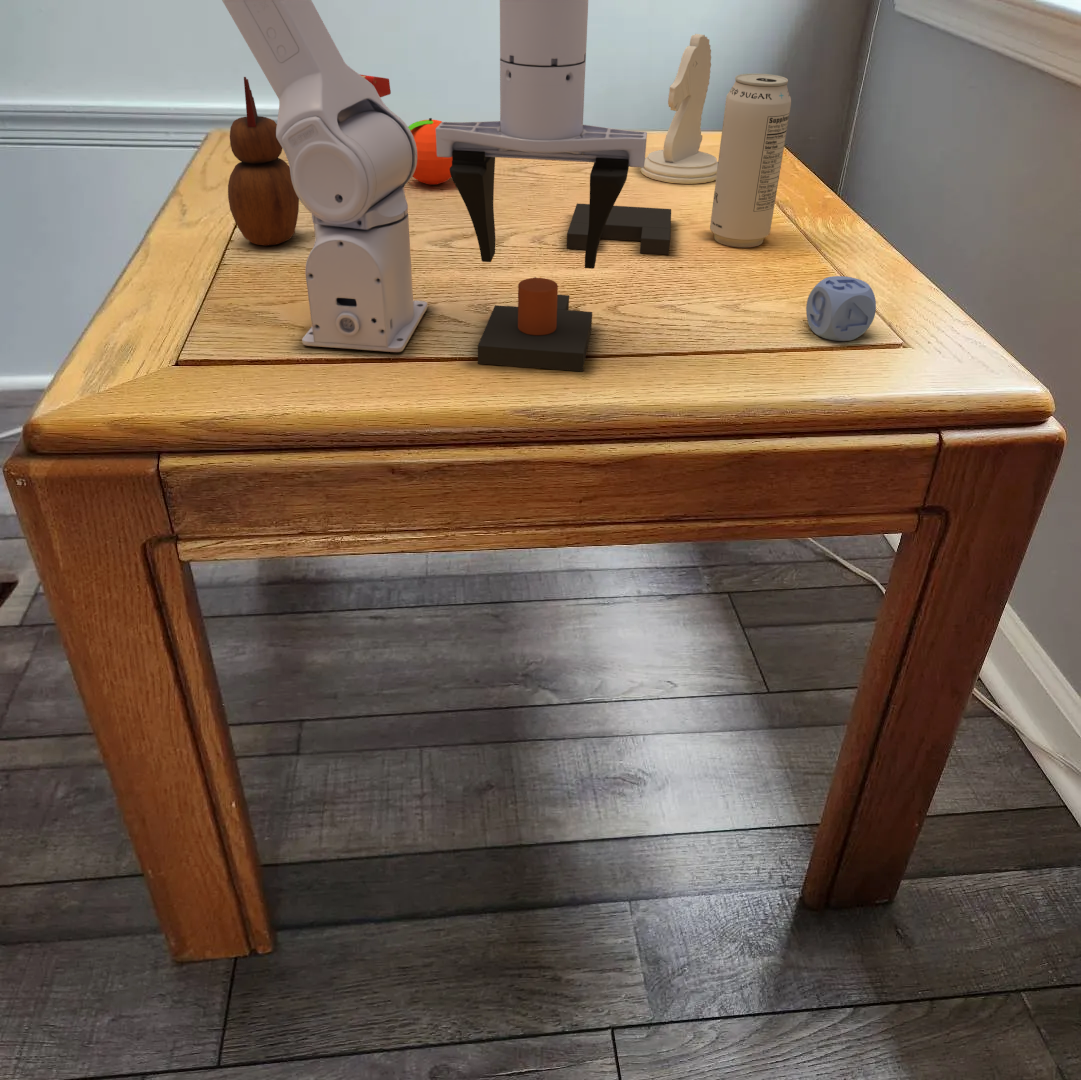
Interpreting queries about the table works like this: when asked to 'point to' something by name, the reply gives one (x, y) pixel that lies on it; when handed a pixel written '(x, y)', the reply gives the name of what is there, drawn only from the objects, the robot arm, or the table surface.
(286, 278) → the table surface
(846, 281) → the decorative dice
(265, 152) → the wooden figurine
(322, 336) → the robot arm
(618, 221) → the base pad
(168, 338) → the table surface
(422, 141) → the clementine
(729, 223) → the energy drink can
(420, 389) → the table surface
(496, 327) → the pad
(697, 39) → the chess piece
